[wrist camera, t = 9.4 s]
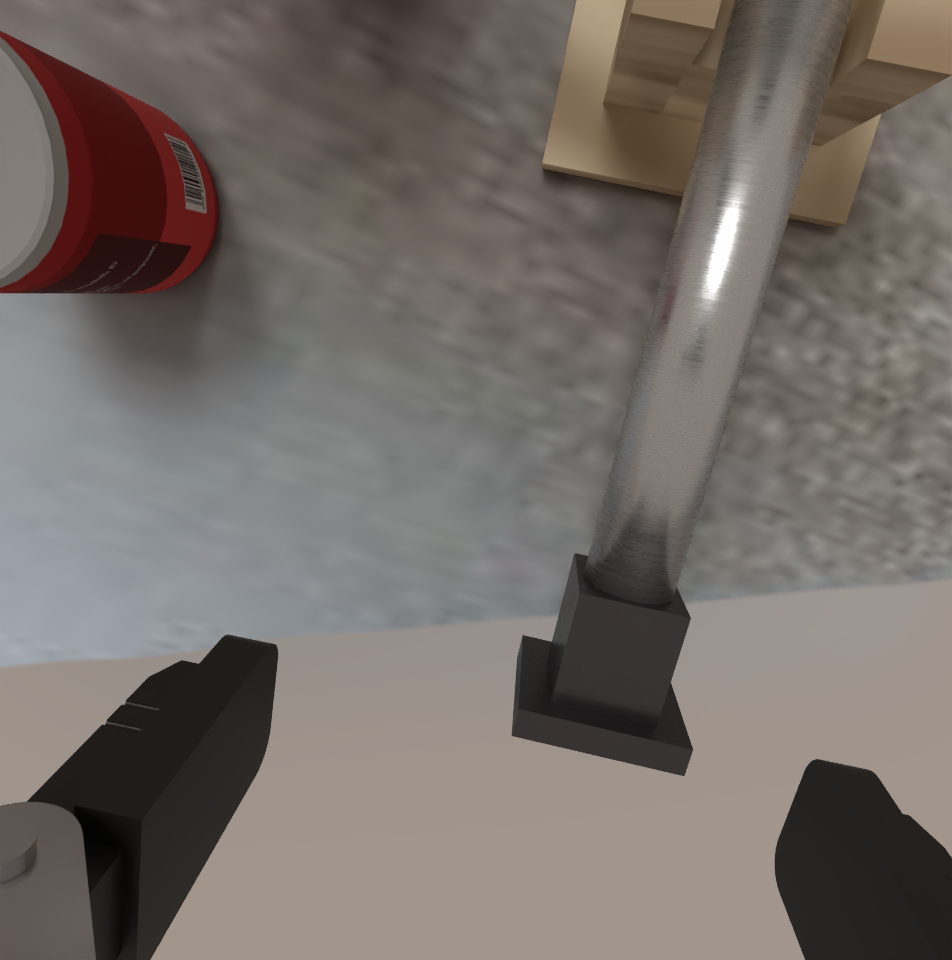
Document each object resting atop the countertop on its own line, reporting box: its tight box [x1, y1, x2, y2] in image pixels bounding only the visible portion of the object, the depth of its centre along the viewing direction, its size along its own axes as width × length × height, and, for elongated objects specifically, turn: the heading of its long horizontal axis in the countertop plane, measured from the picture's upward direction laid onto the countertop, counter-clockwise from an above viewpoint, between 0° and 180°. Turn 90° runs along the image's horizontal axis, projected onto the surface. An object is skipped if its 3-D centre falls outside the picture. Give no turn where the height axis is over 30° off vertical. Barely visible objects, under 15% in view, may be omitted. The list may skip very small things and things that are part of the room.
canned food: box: [0, 31, 218, 293], centre depth 25 cm, size 8×8×11 cm
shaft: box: [512, 0, 855, 776], centre depth 22 cm, size 23×6×5 cm, turn 168°
